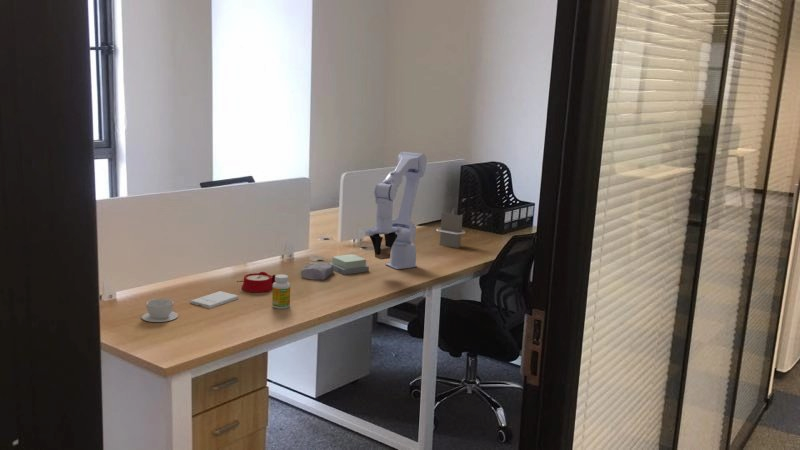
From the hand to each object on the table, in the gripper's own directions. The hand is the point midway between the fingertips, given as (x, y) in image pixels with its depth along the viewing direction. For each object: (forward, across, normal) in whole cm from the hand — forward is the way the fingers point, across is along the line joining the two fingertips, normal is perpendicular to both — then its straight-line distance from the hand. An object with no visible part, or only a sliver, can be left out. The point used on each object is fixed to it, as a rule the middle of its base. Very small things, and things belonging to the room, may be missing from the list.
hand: (382, 253), depth 262 cm
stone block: (+9, -20, +12) cm, 25 cm away
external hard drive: (+9, -64, 0) cm, 64 cm away
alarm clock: (+9, -44, +7) cm, 46 cm away
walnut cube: (+2, 0, 0) cm, 2 cm away
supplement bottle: (+9, -48, -14) cm, 51 cm away
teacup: (+9, -83, -7) cm, 84 cm away
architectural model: (+9, +55, +27) cm, 62 cm away
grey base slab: (+9, -6, +13) cm, 17 cm away
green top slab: (+7, -6, +14) cm, 16 cm away
